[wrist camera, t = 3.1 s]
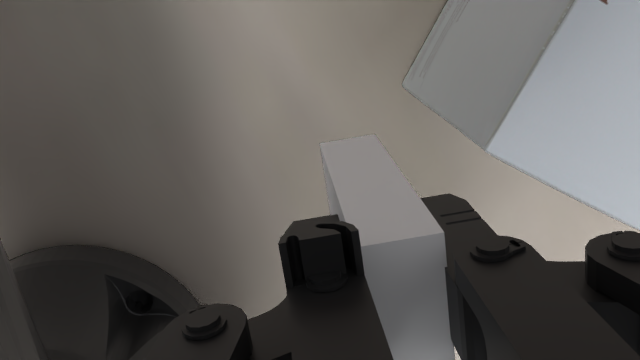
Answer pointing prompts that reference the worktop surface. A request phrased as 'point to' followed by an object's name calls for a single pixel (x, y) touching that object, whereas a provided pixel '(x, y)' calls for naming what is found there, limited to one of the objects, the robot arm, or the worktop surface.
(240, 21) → the worktop surface
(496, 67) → the supplement box
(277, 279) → the worktop surface
